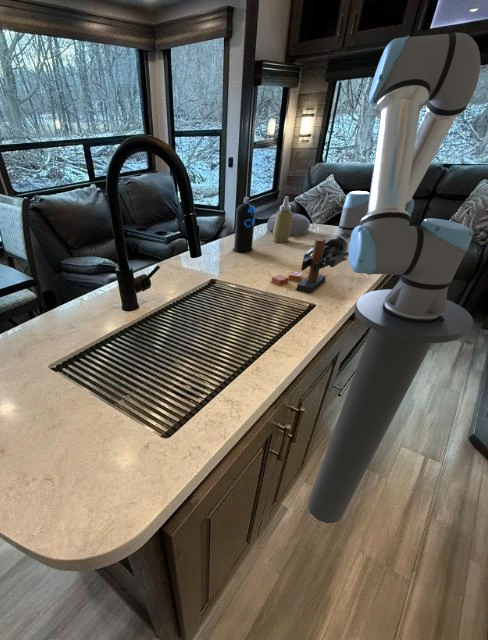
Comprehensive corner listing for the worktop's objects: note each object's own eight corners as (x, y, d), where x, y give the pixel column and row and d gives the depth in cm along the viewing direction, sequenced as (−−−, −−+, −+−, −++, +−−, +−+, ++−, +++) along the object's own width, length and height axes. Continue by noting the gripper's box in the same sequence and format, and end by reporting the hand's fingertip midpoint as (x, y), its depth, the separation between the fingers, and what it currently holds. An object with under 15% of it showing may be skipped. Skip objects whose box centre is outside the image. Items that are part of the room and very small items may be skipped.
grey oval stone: (262, 232, 165) (300, 238, 155) (264, 213, 160) (304, 218, 150) (277, 225, 174) (314, 230, 164) (279, 207, 168) (317, 211, 159)
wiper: (324, 281, 117) (335, 236, 107) (310, 293, 110) (320, 245, 100) (311, 278, 119) (320, 233, 109) (296, 290, 112) (304, 243, 102)
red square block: (287, 282, 117) (288, 277, 116) (279, 285, 116) (279, 280, 115) (279, 279, 120) (280, 274, 119) (271, 282, 118) (272, 276, 117)
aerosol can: (229, 250, 146) (232, 198, 133) (240, 245, 151) (243, 194, 137) (245, 254, 142) (249, 200, 129) (256, 249, 146) (260, 196, 133)
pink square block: (301, 277, 120) (302, 272, 119) (299, 281, 118) (300, 276, 116) (290, 276, 122) (291, 271, 121) (288, 280, 119) (288, 275, 118)
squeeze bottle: (288, 244, 150) (295, 198, 138) (270, 243, 152) (275, 197, 140) (290, 239, 155) (297, 194, 143) (273, 238, 158) (278, 194, 146)
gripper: (356, 262, 118) (330, 284, 105) (312, 254, 126) (283, 273, 113) (362, 240, 113) (337, 259, 100) (316, 233, 121) (287, 250, 108)
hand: (308, 267), depth 106 cm, fingers closed on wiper, 3 cm apart
